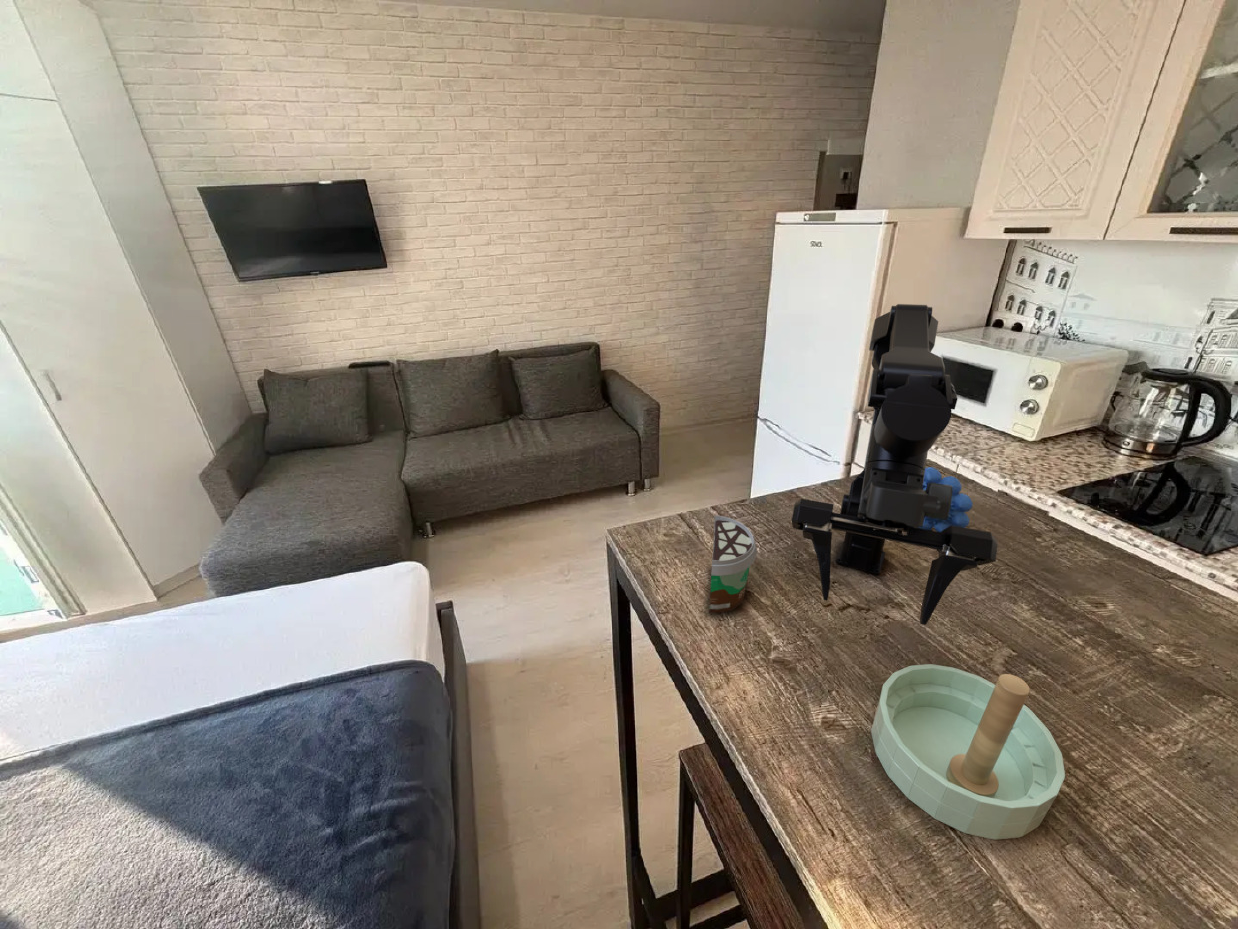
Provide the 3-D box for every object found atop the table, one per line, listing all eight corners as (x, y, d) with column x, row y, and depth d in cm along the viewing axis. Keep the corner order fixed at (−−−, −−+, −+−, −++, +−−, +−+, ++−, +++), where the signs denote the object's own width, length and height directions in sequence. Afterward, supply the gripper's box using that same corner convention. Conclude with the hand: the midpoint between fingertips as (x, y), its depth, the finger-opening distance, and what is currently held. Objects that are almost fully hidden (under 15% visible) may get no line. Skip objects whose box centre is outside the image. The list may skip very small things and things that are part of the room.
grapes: (881, 530, 89) (895, 470, 84) (891, 513, 94) (905, 455, 89) (958, 554, 83) (979, 490, 77) (965, 535, 87) (985, 473, 82)
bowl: (881, 678, 62) (891, 645, 60) (1037, 737, 55) (1055, 702, 52) (859, 786, 51) (869, 751, 48) (1051, 880, 43) (1075, 844, 41)
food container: (753, 625, 71) (759, 567, 66) (708, 620, 72) (711, 563, 67) (751, 569, 81) (756, 516, 77) (712, 565, 83) (715, 513, 78)
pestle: (947, 756, 53) (986, 658, 46) (993, 776, 51) (1041, 677, 44) (945, 790, 50) (986, 691, 43) (994, 812, 48) (1045, 712, 41)
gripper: (804, 434, 52) (775, 585, 49) (1026, 463, 45) (1007, 643, 42) (805, 462, 62) (781, 590, 59) (987, 490, 55) (969, 637, 52)
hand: (872, 612), depth 53 cm, fingers open, 9 cm apart
